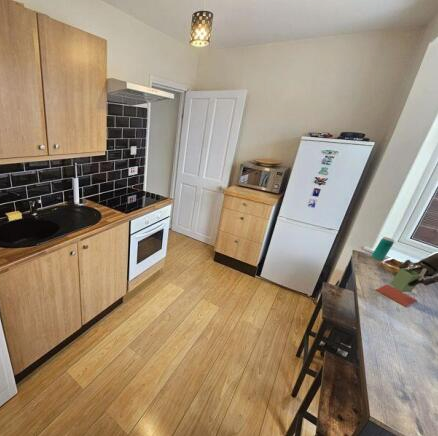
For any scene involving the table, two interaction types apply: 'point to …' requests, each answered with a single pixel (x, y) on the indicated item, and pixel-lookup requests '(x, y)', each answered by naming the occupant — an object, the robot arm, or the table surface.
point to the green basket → (404, 280)
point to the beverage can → (382, 248)
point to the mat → (396, 295)
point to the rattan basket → (391, 265)
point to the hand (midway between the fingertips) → (402, 280)
